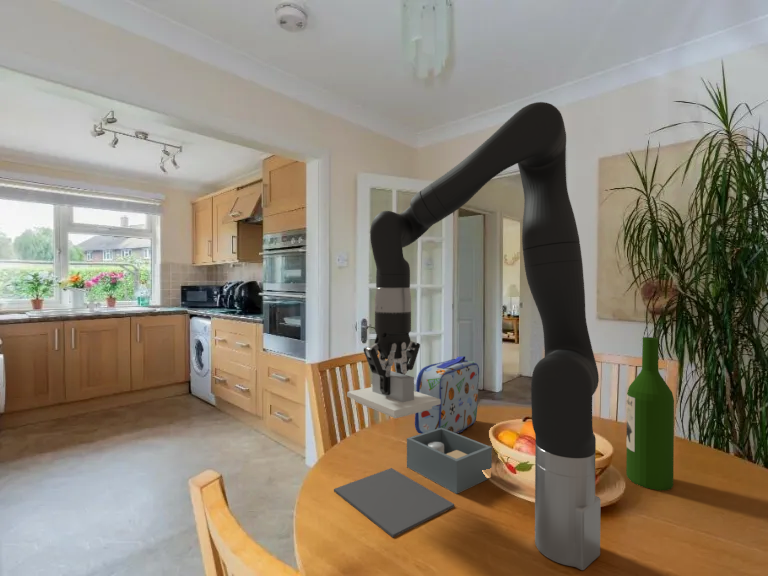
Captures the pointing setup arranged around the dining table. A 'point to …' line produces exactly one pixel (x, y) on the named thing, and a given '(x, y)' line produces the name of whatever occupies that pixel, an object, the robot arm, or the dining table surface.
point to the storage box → (449, 459)
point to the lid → (394, 396)
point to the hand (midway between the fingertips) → (392, 392)
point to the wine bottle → (650, 424)
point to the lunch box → (449, 395)
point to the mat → (393, 501)
